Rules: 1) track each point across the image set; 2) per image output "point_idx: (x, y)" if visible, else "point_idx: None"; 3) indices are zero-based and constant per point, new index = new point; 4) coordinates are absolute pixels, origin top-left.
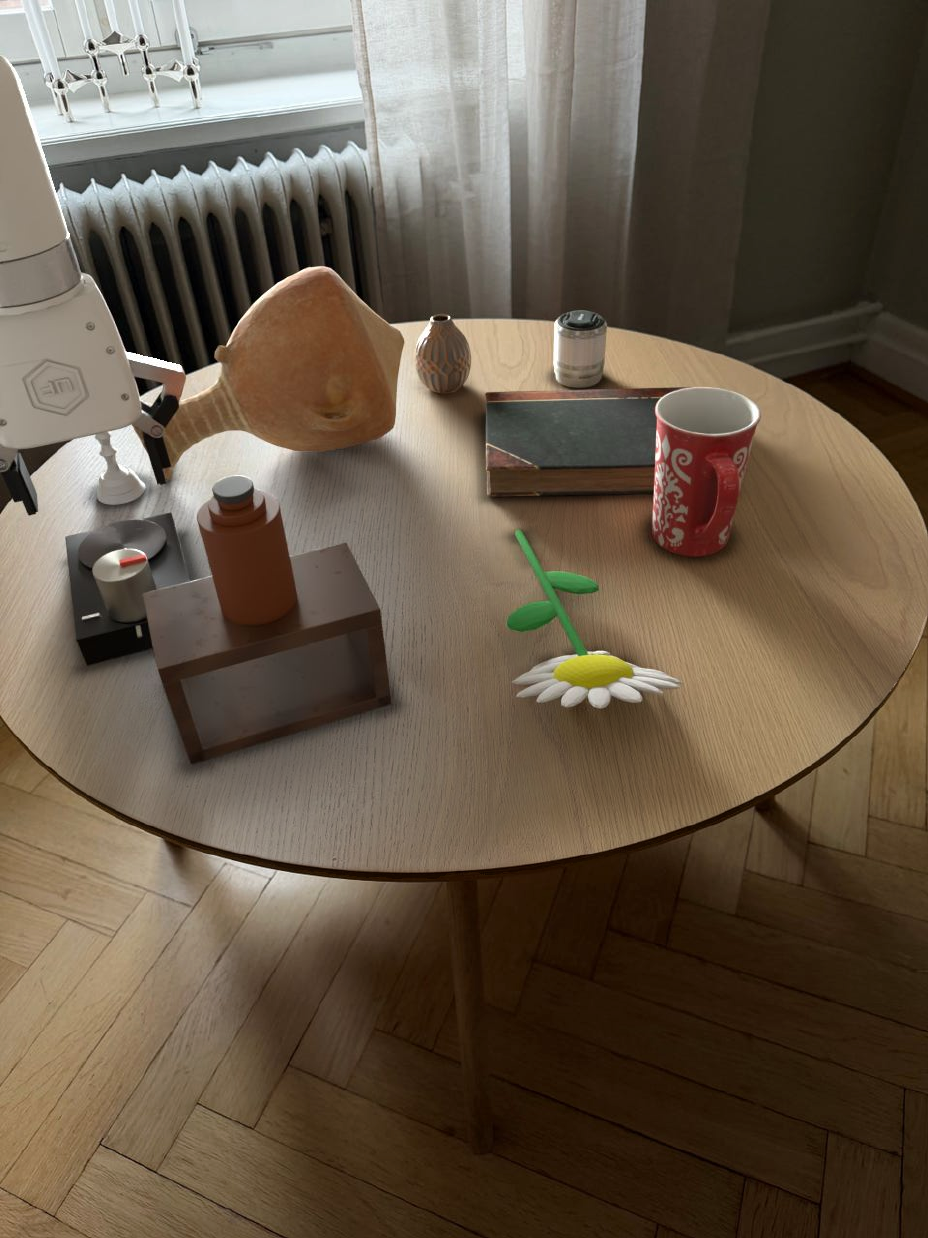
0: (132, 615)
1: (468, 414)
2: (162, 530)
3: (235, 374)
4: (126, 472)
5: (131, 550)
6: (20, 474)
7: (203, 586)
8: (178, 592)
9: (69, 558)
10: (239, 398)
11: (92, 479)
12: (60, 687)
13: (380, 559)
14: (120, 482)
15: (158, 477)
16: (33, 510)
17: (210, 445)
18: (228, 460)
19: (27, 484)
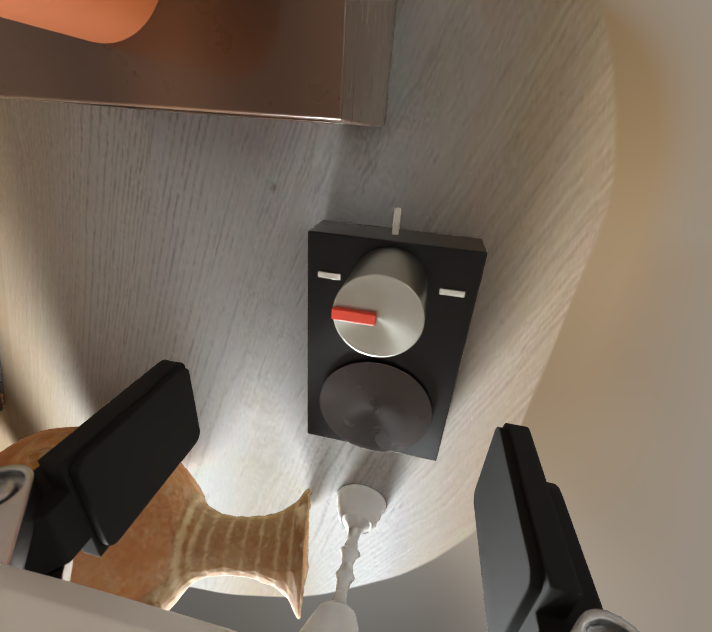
0: (395, 251)
1: (23, 420)
2: (322, 406)
3: (147, 579)
4: (344, 518)
5: (352, 343)
6: (534, 562)
7: (207, 71)
8: (262, 77)
9: (443, 421)
10: (167, 543)
11: (383, 532)
12: (529, 213)
13: (107, 249)
14: (354, 509)
15: (163, 374)
16: (511, 431)
17: (264, 512)
18: (250, 485)
19: (509, 514)
